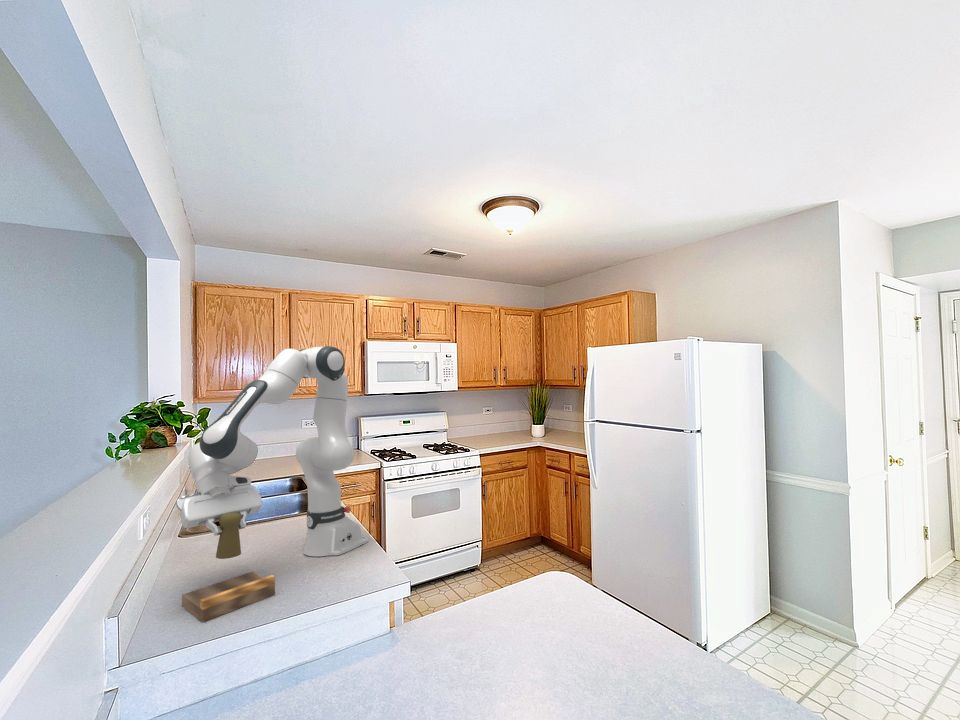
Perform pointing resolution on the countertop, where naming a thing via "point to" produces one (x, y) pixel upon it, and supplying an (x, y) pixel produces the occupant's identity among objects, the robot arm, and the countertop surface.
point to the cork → (229, 536)
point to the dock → (224, 607)
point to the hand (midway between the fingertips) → (230, 530)
